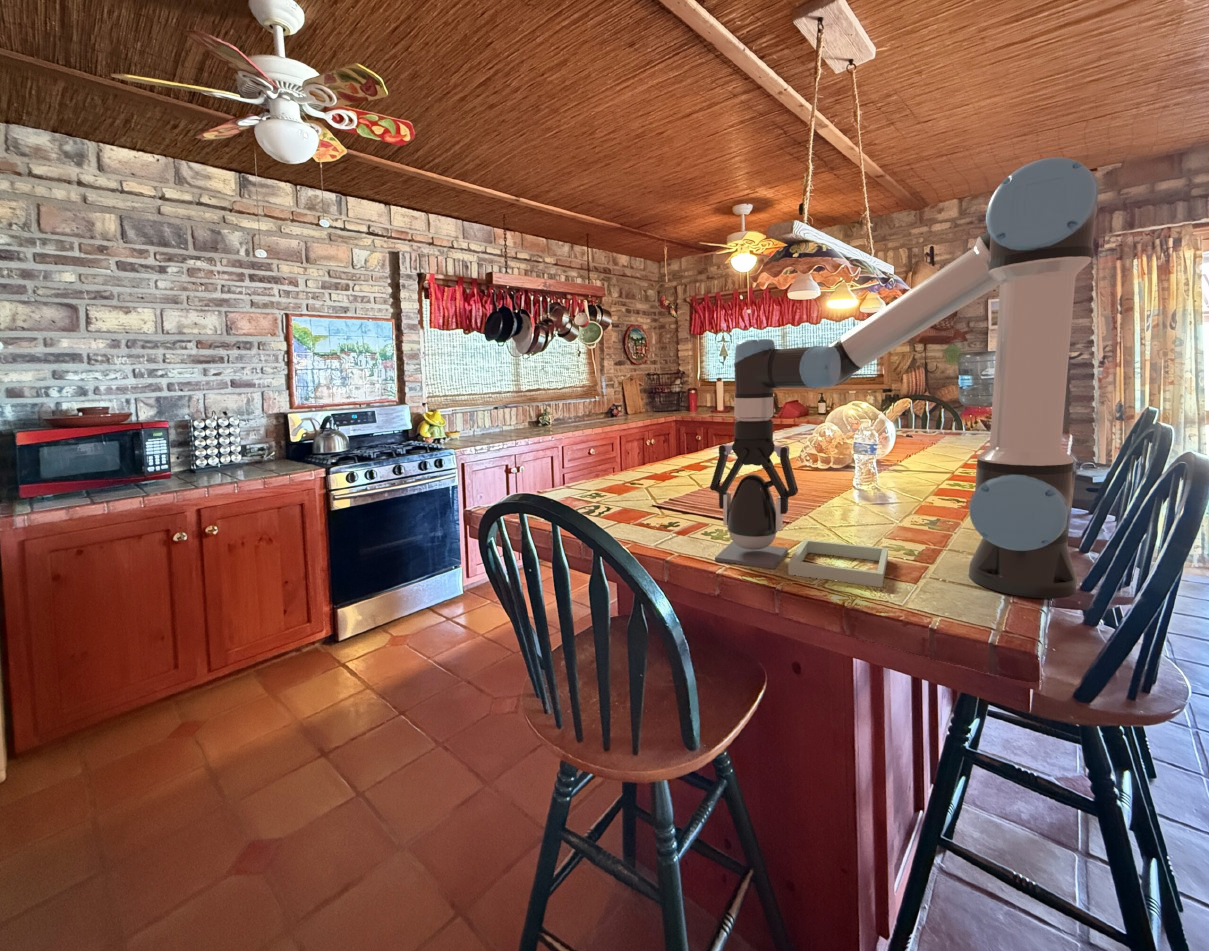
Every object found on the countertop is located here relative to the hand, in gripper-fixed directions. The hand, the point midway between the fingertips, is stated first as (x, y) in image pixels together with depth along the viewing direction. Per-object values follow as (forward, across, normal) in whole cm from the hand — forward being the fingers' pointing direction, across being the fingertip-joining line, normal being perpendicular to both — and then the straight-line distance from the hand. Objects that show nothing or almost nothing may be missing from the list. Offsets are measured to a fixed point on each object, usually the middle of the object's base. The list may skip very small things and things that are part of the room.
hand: (752, 526), depth 116 cm
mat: (+7, 0, 0) cm, 7 cm away
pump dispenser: (+4, 0, 0) cm, 4 cm away
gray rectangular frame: (+7, -17, 0) cm, 18 cm away
